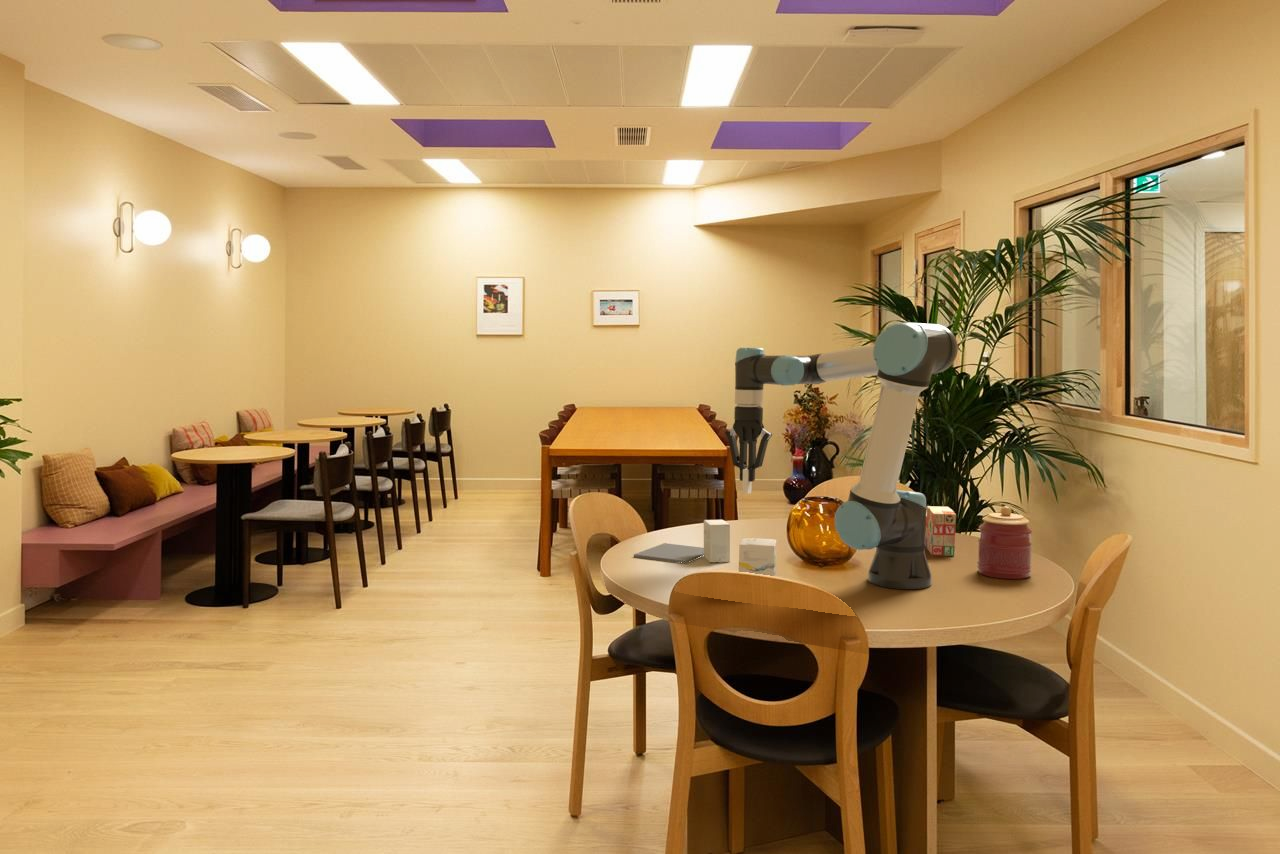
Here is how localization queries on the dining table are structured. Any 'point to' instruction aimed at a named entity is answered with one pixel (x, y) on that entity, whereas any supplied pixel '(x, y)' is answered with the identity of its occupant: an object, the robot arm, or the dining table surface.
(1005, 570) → the canister
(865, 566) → the dining table surface
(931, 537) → the stack of blocks
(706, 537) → the small box
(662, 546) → the mat
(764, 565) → the ink box
